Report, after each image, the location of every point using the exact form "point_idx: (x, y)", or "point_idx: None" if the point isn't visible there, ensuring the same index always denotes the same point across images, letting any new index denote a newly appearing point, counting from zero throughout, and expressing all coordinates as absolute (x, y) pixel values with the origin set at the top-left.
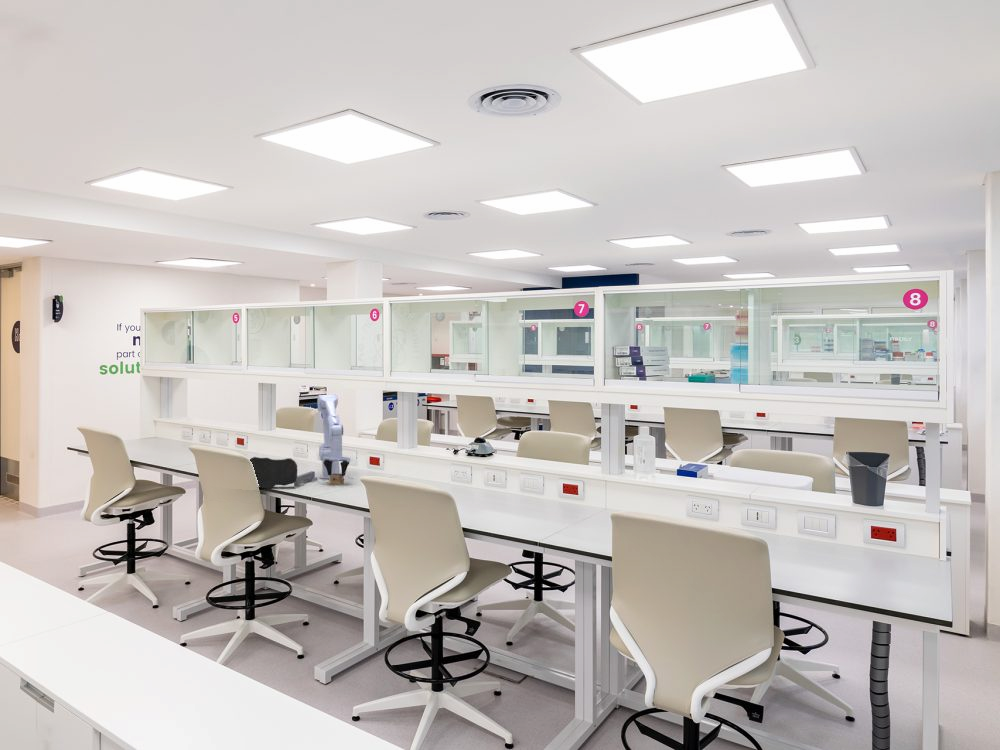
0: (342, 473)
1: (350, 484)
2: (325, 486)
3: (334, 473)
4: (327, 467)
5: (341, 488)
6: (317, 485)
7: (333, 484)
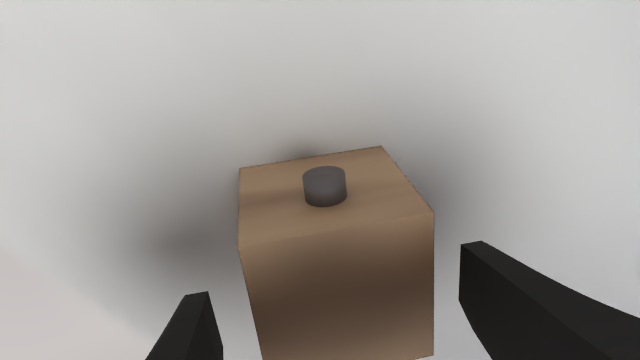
0: (179, 322)
1: (132, 276)
2: (382, 35)
3: (428, 346)
4: (586, 325)
5: (32, 5)
6: (528, 47)
7: (324, 159)
